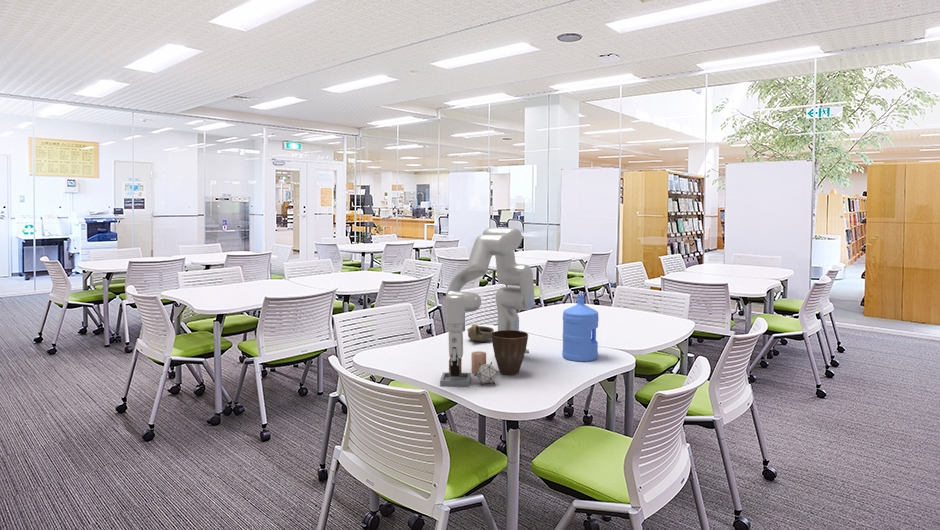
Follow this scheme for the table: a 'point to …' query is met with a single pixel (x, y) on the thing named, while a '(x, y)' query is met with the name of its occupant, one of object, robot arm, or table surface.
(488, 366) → the game die
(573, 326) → the water jug
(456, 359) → the walnut block
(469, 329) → the tan curved open container
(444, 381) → the tray
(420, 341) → the table surface
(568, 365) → the table surface
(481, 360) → the peach round domed cylinder
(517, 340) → the plant pot
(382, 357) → the table surface
